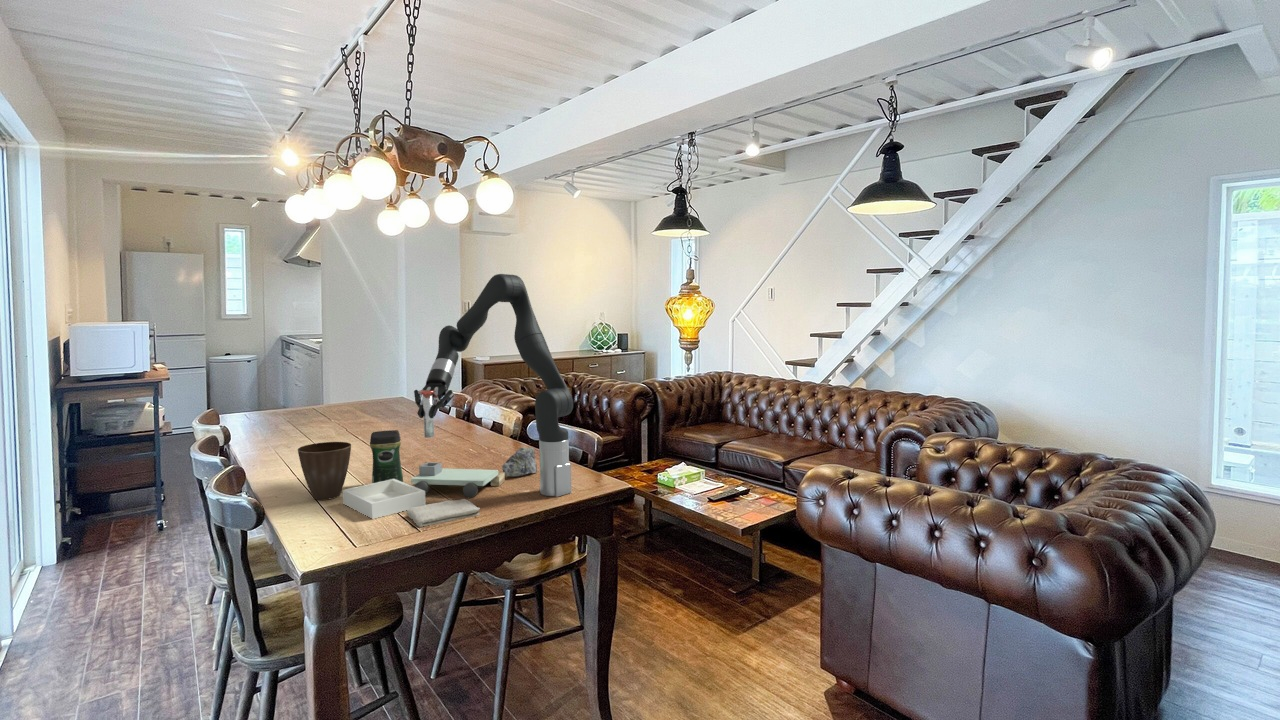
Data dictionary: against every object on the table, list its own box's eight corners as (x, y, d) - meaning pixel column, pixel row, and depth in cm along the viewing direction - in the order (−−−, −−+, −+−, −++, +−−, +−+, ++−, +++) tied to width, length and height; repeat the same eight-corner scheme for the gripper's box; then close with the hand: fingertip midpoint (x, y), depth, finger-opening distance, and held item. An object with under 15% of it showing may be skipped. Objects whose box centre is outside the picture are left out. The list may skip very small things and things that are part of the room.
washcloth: (482, 516, 175) (482, 505, 175) (418, 530, 164) (418, 519, 164) (467, 505, 184) (467, 495, 184) (406, 518, 174) (405, 507, 174)
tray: (425, 505, 183) (425, 490, 183) (372, 519, 171) (371, 503, 171) (394, 492, 197) (393, 478, 196) (343, 504, 185) (342, 489, 184)
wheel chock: (504, 481, 208) (504, 472, 207) (499, 486, 203) (499, 476, 202) (496, 481, 208) (495, 472, 208) (490, 485, 203) (490, 476, 203)
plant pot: (335, 487, 203) (333, 439, 202) (363, 493, 195) (361, 444, 194) (290, 499, 190) (287, 448, 189) (318, 507, 183) (315, 454, 181)
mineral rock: (503, 480, 209) (502, 451, 208) (498, 472, 219) (498, 445, 218) (540, 476, 214) (539, 448, 213) (534, 469, 224) (534, 442, 223)
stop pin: (439, 436, 199) (437, 390, 198) (426, 438, 196) (424, 392, 195) (432, 434, 202) (430, 389, 201) (419, 436, 199) (417, 391, 198)
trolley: (500, 483, 206) (499, 460, 205) (481, 498, 190) (481, 472, 189) (432, 481, 209) (431, 458, 208) (409, 495, 193) (408, 470, 192)
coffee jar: (403, 481, 209) (401, 427, 208) (403, 487, 202) (400, 432, 200) (372, 484, 206) (370, 429, 205) (371, 490, 199) (368, 434, 197)
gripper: (417, 367, 206) (400, 409, 195) (457, 367, 204) (442, 410, 193) (425, 381, 211) (409, 423, 200) (464, 381, 209) (450, 423, 198)
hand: (425, 416), depth 197 cm, fingers closed on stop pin, 3 cm apart
